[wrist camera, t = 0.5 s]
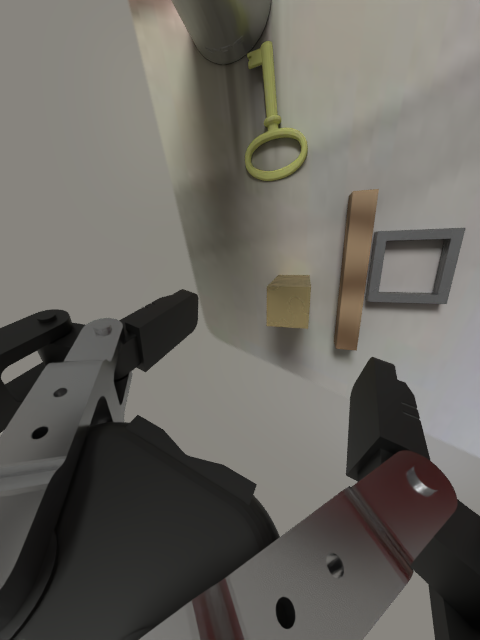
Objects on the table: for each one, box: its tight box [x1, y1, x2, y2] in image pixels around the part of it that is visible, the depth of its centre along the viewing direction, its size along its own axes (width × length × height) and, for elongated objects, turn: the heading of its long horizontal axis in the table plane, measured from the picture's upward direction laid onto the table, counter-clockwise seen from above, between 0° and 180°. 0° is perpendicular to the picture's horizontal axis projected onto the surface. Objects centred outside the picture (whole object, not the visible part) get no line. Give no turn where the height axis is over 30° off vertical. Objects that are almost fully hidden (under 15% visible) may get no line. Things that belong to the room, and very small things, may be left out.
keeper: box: [365, 228, 465, 304], centre depth 26 cm, size 8×8×1 cm
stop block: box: [267, 275, 311, 329], centre depth 26 cm, size 4×4×10 cm
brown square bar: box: [334, 189, 379, 350], centre depth 27 cm, size 18×2×2 cm, turn 1°
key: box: [245, 41, 308, 181], centre depth 26 cm, size 7×12×2 cm, turn 26°
